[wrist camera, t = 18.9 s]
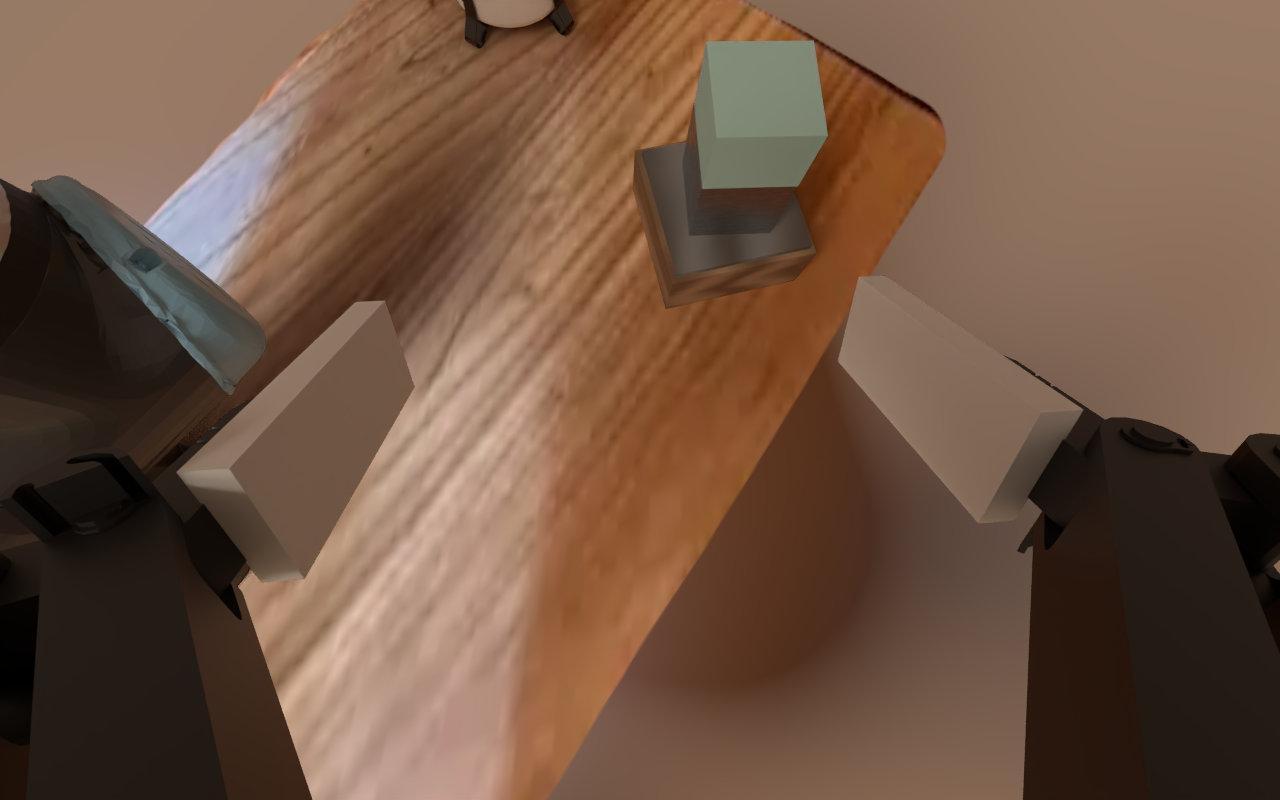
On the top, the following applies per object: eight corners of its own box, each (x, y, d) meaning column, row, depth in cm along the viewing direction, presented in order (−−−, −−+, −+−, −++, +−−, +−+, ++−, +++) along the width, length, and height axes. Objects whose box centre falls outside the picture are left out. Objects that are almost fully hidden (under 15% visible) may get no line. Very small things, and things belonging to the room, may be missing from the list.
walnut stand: (666, 308, 45) (673, 281, 39) (633, 189, 48) (635, 146, 42) (793, 280, 46) (819, 249, 41) (755, 164, 49) (774, 120, 43)
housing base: (688, 235, 40) (702, 187, 34) (682, 162, 42) (694, 103, 35) (769, 233, 41) (797, 185, 34) (760, 160, 42) (786, 101, 36)
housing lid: (702, 188, 34) (716, 137, 29) (692, 85, 35) (704, 20, 31) (798, 186, 34) (828, 135, 29) (784, 84, 36) (810, 20, 31)
